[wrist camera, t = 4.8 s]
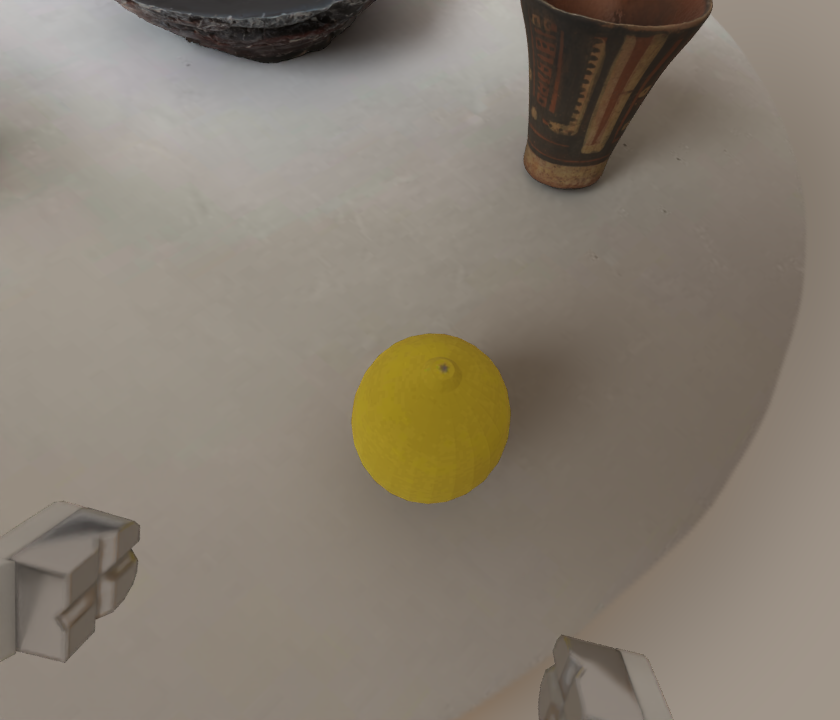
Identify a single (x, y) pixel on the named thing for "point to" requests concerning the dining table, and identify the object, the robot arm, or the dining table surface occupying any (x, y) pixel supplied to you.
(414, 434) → the lemon
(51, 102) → the dining table surface
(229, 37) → the board
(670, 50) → the cup
